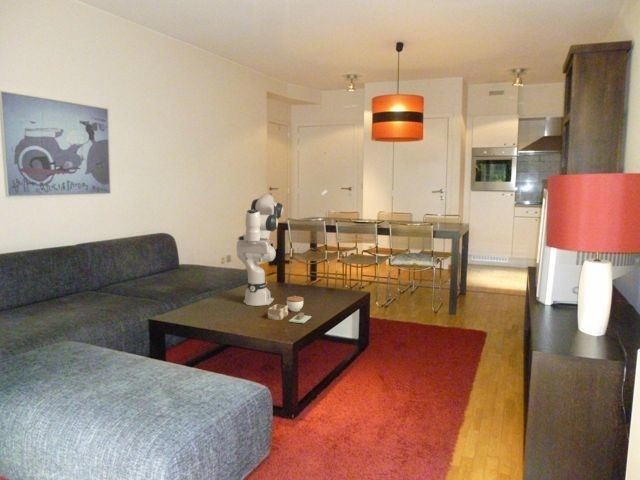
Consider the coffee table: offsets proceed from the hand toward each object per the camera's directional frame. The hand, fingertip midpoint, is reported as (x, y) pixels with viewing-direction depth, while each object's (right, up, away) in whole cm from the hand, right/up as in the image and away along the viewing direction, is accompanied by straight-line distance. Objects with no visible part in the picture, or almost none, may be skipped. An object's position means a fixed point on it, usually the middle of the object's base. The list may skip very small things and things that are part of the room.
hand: (253, 260), depth 292 cm
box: (+14, -34, +5) cm, 37 cm away
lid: (+28, -34, -2) cm, 44 cm away
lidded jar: (+24, -32, +20) cm, 45 cm away
